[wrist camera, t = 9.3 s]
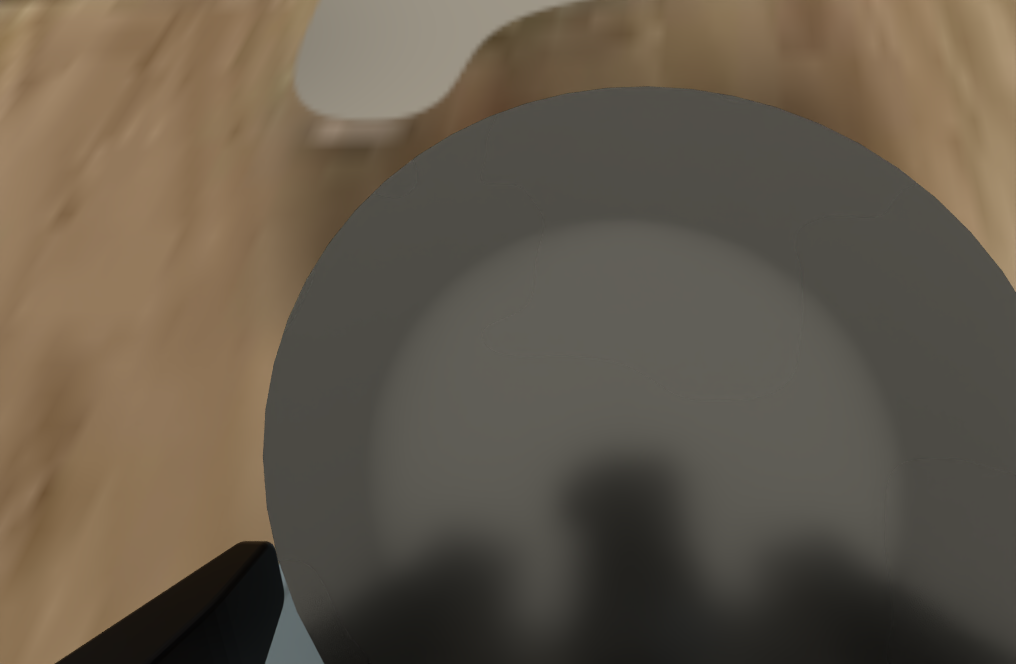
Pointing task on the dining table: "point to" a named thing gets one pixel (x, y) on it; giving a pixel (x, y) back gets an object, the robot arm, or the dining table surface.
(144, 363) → the dining table surface
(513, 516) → the grey shiny round cylinder
